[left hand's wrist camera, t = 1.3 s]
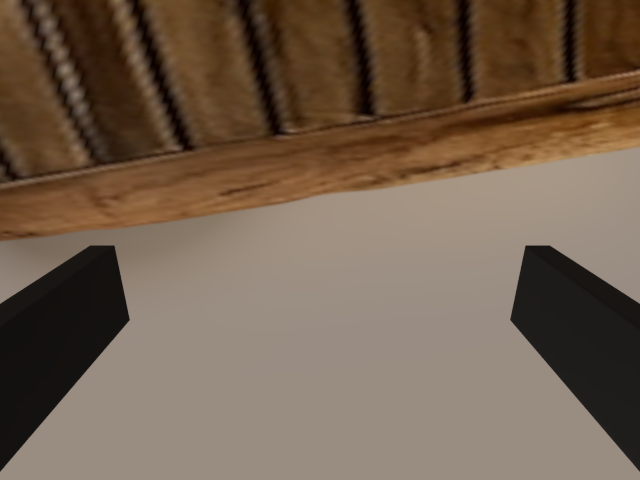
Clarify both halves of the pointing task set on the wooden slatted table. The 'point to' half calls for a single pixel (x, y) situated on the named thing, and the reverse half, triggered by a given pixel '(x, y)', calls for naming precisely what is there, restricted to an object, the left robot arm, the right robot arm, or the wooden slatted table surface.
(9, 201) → the wooden slatted table surface
